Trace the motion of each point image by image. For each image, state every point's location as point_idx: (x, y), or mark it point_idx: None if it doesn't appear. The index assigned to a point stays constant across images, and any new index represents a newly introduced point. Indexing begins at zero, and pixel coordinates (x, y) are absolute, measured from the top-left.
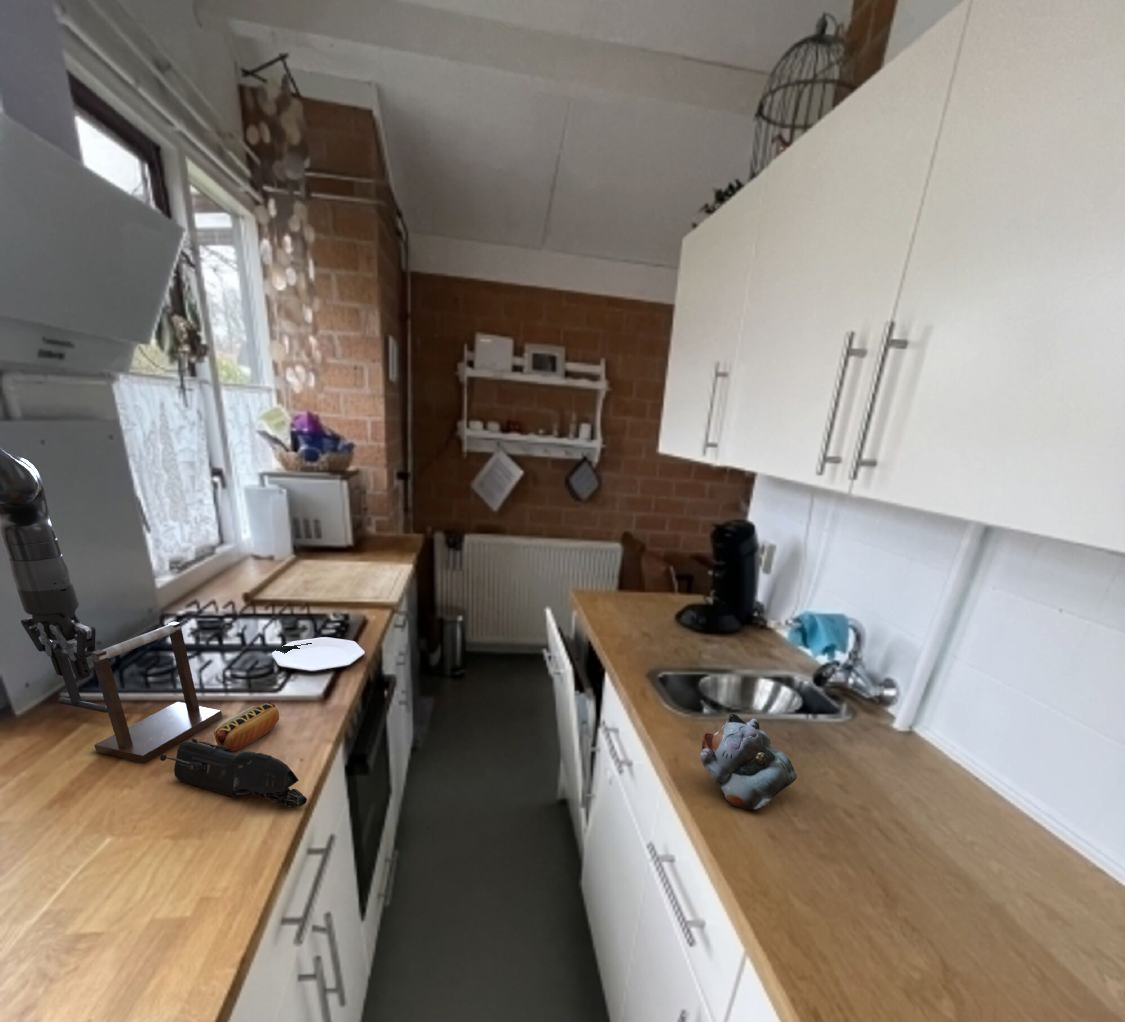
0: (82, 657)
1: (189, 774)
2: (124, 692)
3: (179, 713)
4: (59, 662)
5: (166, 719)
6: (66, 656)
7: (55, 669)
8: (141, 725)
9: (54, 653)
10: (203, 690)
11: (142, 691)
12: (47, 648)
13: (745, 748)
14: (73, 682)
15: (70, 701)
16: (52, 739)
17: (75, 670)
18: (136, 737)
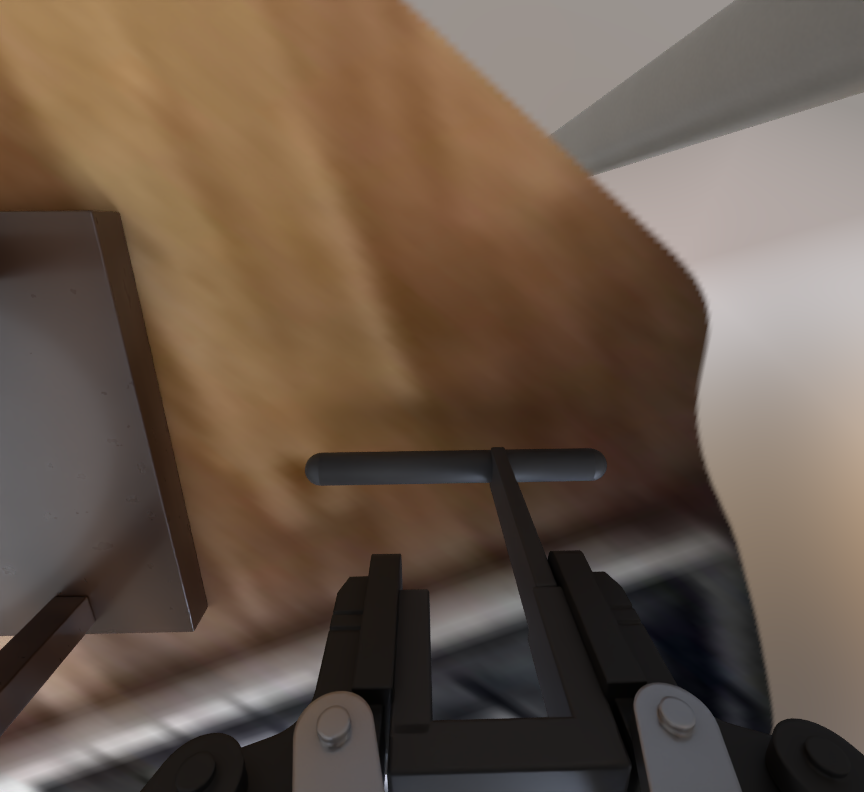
0: (164, 767)
1: None
2: (508, 627)
3: (82, 566)
4: (562, 647)
5: (72, 512)
6: (458, 731)
7: (593, 579)
8: (105, 436)
9: (629, 736)
10: (267, 723)
11: (454, 652)
12: (703, 790)
13: None
14: (510, 548)
15: (524, 462)
16: (411, 233)
17: (377, 606)
18: (5, 344)
